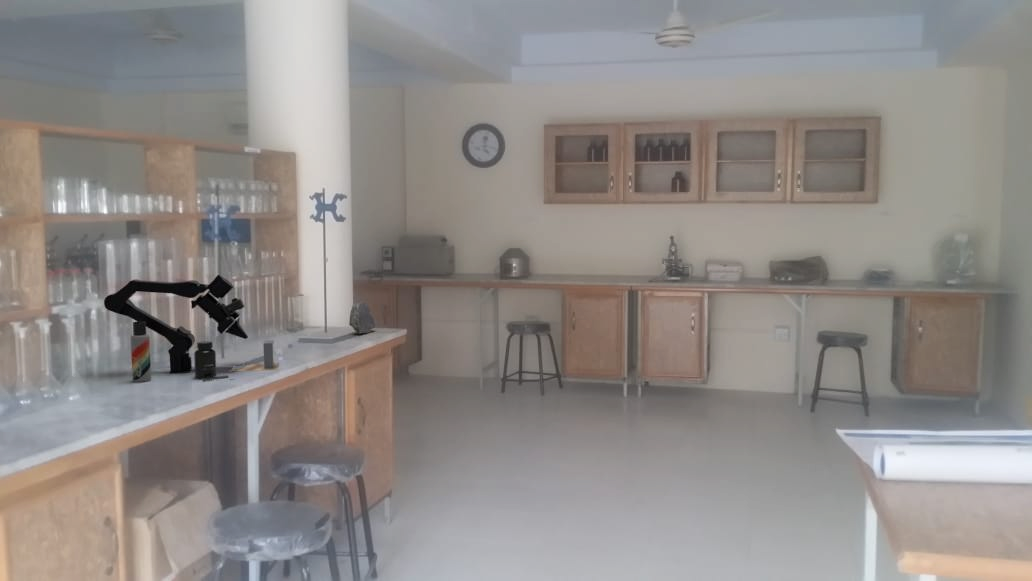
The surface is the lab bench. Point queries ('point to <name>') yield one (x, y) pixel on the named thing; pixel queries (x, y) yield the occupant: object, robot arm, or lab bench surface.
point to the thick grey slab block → (269, 354)
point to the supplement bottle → (205, 360)
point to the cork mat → (256, 367)
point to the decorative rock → (361, 318)
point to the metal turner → (214, 378)
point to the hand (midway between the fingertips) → (247, 337)
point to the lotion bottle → (140, 353)
